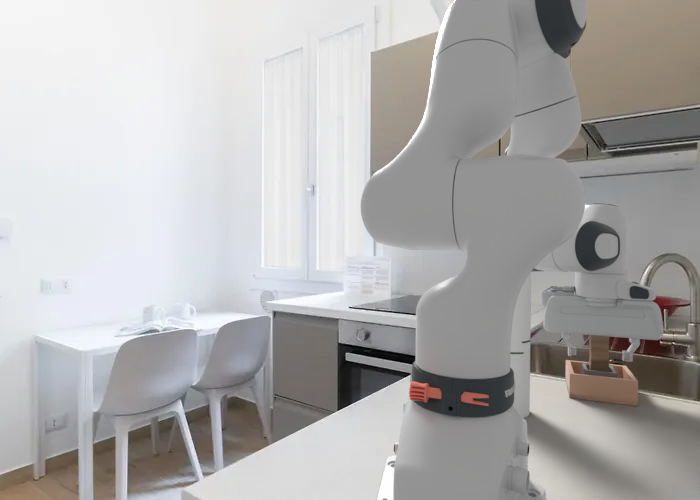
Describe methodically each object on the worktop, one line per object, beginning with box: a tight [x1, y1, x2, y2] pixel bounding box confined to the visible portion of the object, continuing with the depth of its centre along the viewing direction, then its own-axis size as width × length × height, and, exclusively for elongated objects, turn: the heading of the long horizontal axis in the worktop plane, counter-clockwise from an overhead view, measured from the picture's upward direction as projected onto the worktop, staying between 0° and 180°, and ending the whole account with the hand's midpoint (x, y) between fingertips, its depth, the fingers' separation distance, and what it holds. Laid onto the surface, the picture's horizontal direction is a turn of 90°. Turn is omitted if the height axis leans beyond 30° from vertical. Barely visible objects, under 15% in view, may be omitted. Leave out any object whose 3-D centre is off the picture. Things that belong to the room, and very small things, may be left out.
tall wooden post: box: [588, 335, 610, 372], centre depth 86 cm, size 3×3×12 cm
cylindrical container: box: [510, 272, 532, 419], centre depth 76 cm, size 7×7×25 cm
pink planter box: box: [564, 359, 639, 407], centre depth 86 cm, size 11×11×5 cm
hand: (599, 358), depth 86 cm, fingers open, 8 cm apart
